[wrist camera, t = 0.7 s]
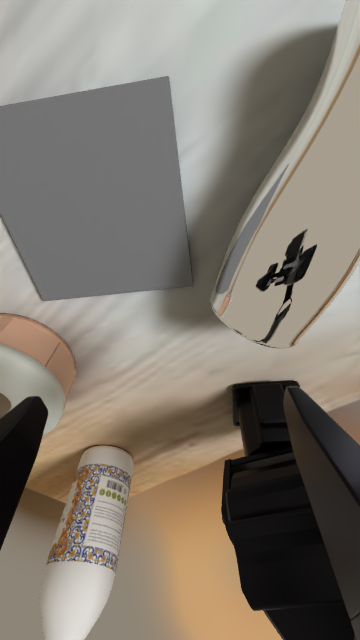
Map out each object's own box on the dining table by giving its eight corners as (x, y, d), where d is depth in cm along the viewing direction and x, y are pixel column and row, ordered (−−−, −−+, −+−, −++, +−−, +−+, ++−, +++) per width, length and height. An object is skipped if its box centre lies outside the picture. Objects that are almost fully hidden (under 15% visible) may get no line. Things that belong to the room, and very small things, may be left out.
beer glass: (319, 5, 13) (208, 277, 21) (401, -104, 7) (204, 328, 15) (448, 60, 13) (289, 305, 22) (620, 1, 8) (315, 365, 16)
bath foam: (88, 438, 34) (-4, 722, 18) (141, 451, 36) (99, 725, 19) (77, 463, 38) (-7, 716, 22) (125, 474, 39) (80, 719, 23)
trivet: (192, 283, 21) (192, 286, 21) (46, 297, 22) (43, 301, 22) (168, 77, 14) (168, 75, 14) (-42, 115, 15) (-49, 114, 15)
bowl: (89, 387, 28) (76, 421, 25) (1, 393, 30) (-23, 426, 26) (51, 308, 23) (27, 338, 20) (-58, 318, 24) (-97, 349, 20)
